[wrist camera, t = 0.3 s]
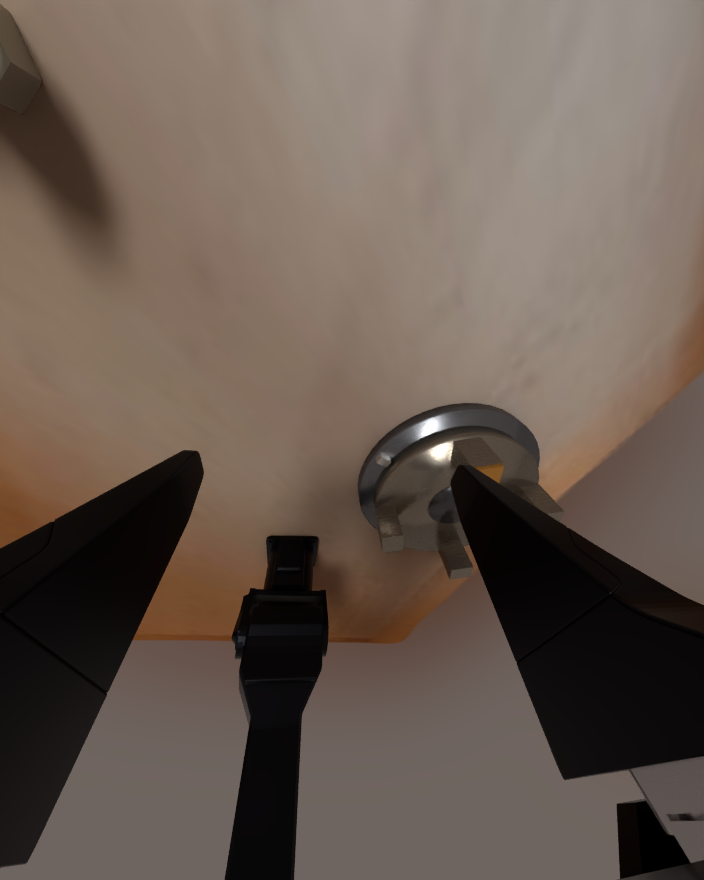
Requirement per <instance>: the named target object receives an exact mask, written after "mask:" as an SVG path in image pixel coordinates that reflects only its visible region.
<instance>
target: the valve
mask: <svg viewBox="0 0 704 880" xmlns="http://www.w3.org/2000/svg"><path fill="white" fill-rule="evenodd" d="M41 82H42V81H41V78H40V75H39V73H38V71H37V69H36V67H35V64H34V62H33V60H32V58H31V56H30V54H29V52H28V50H27V47H26V45H25V43H24V41H23V39H22V37H21V35H20V33H19V30H18V28H17V26H16V24H15V22H14V20H13V18H12V16H11V14H10V13H9V11H8V10H7V9H6V8H4V7H3V6H2V5H0V104H1V105H3V106H5V107H8V108H10V109H12V110H14V111H16V112H18V113H20V114H23V113H24V112H25V111H26V109H27V107H28V106H29V104H30V102H31V101H32V99H33V97H34V96H35V94H36V92H37V91H38V89H39V87H40V85H41Z"/></svg>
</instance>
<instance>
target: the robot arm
mask: <svg viewBox="0 0 704 880" xmlns="http://www.w3.org/2000/svg"><path fill="white" fill-rule="evenodd" d="M203 475H204V470H203V466H202V462H201V457H200V454H199V452H198V451H191V450H184V451H181V452H179V453H178V454H176V455H174V456H172V457H170V458H168V459H166V460H165V461H163V462H161V463H159V464H157V465H155V466H153V467H152V468H150V469H148V470H146V471H144V472H142V473H140V474H139V475H137V476H135V477H133V478H131V479H129V480H128V481H126V482H124V483H122V484H120V485H118V486H116V487H115V488H113V489H111V490H109V491H107V492H105V493H103V494H102V495H100V496H98V497H96V498H94V499H92V500H90V501H89V502H87V503H85V504H83V505H81V506H79V507H77V508H76V509H74V510H72V511H70V512H68V513H66V514H64V515H63V516H61V517H59V518H57V519H55V521H54V522H49V523H48V524H46V525H44V526H42V527H40V528H38V529H37V530H35V531H33V532H31V533H29V534H27V535H25V536H23V537H21V538H20V539H18V540H16V541H14V542H12V543H10V544H8V545H6V546H4V547H2V548H0V868H2V867H8V866H15V865H21V864H26V863H27V862H28V860H29V858H30V856H31V854H32V852H33V850H34V848H35V846H36V844H37V842H38V840H39V838H40V836H41V834H42V832H43V830H44V828H45V825H46V823H47V821H48V819H49V817H50V815H51V812H52V810H53V808H54V806H55V804H56V802H57V800H58V798H59V796H60V793H61V791H62V789H63V787H64V785H65V783H66V781H67V779H68V776H69V774H70V772H71V770H72V768H73V766H74V764H75V762H76V759H77V757H78V755H79V753H80V751H81V748H82V747H83V745H84V742H85V740H86V738H87V736H88V734H89V732H90V730H91V728H92V725H93V723H94V721H95V719H96V717H97V715H98V713H99V711H100V708H101V706H102V704H103V702H104V700H105V698H106V696H107V692H108V691H109V689H110V687H111V685H112V682H113V680H114V678H115V676H116V674H117V672H118V670H119V667H120V665H121V663H122V661H123V659H124V657H125V655H126V653H127V650H128V648H129V646H130V644H131V642H132V640H133V638H134V636H135V634H136V631H137V629H138V627H139V625H140V623H141V621H142V619H143V617H144V614H145V612H146V610H147V608H148V606H149V604H150V602H151V600H152V597H153V595H154V593H155V591H156V589H157V587H158V585H159V582H160V580H161V578H162V576H163V574H164V572H165V570H166V568H167V565H168V563H169V561H170V559H171V557H172V555H173V553H174V551H175V548H176V546H177V544H178V542H179V540H180V538H181V536H182V534H183V531H184V529H185V527H186V525H187V523H188V520H189V518H190V515H191V512H192V510H193V506H194V503H195V500H196V497H197V494H198V491H199V488H200V485H201V482H202V479H203ZM450 487H451V491H452V494H453V498H454V501H455V505H456V508H457V512H458V516H459V519H460V522H461V525H462V528H463V530H464V533H465V535H466V538H467V540H468V543H469V545H470V548H471V550H472V553H473V555H474V558H475V560H476V563H477V565H478V568H479V570H480V573H481V575H482V578H483V580H484V583H485V585H486V588H487V590H488V593H489V595H490V598H491V600H492V603H493V605H494V608H495V610H496V612H497V615H498V618H499V620H500V623H501V625H502V628H503V630H504V633H505V635H506V638H507V640H508V643H509V645H510V648H511V650H512V652H513V655H514V658H515V660H516V662H517V666H518V668H519V671H520V673H521V676H522V678H523V681H524V683H525V686H526V688H527V691H528V693H529V696H530V698H531V701H532V703H533V706H534V708H535V711H536V713H537V716H538V718H539V721H540V723H541V726H542V728H543V731H544V734H545V736H546V738H547V741H548V744H549V746H550V748H551V751H552V754H553V756H554V759H555V761H556V764H557V766H558V768H559V771H560V773H561V775H562V777H563V779H564V780H569V779H575V778H581V777H588V776H594V775H601V774H606V773H613V772H620V771H627V770H628V771H629V772H630V774H631V776H632V778H633V779H634V781H635V783H636V784H637V786H638V788H639V789H640V791H641V793H642V794H643V796H644V798H645V799H641V800H636V801H630V802H624V803H619V804H617V822H618V841H619V864H620V879H619V880H704V605H702V604H700V603H697V602H695V601H693V600H691V599H688V598H686V597H684V596H682V595H680V594H678V593H677V592H675V591H673V590H671V589H670V588H668V587H666V586H665V585H662V584H661V583H659V582H657V581H656V580H654V579H653V578H651V577H649V576H647V575H646V574H644V573H642V572H641V571H639V570H637V569H635V568H634V567H632V566H630V565H628V564H627V563H625V562H623V561H622V560H620V559H618V558H617V557H615V556H613V555H612V554H610V553H608V552H606V551H605V550H603V549H601V548H600V547H598V546H597V545H595V544H593V543H592V542H590V541H588V540H587V539H585V538H584V537H582V536H581V535H579V534H577V533H576V532H574V531H573V530H571V529H569V528H567V527H566V526H565V525H563V524H562V523H560V522H559V521H557V520H556V519H554V518H552V517H551V516H549V515H548V514H546V513H545V512H543V511H541V510H540V509H538V508H537V507H535V506H534V505H532V504H531V503H529V502H527V501H526V500H524V499H523V498H521V497H520V496H518V495H516V494H515V493H513V492H512V491H510V490H509V489H507V488H506V487H504V486H502V485H501V484H499V483H498V482H496V481H495V480H493V479H491V478H490V477H488V476H487V475H485V474H484V473H482V472H481V471H479V470H477V469H476V468H474V467H473V466H471V465H464V464H460V465H458V466H457V468H456V470H455V472H454V474H453V477H452V479H451V482H450ZM317 544H318V538H317V537H300V536H269V537H267V540H266V545H267V560H268V568H267V573H266V578H265V584H264V589H255V588H250V592H249V594H248V595H245V596H244V597H243V602H242V606H241V610H240V613H239V616H238V619H237V622H236V625H235V628H234V631H233V634H232V641H233V642H234V644H235V650H236V655H235V659H241V664H240V670H239V691H240V694H241V698H242V702H243V706H244V709H245V713H246V717H247V720H248V724H249V731H248V737H247V743H246V749H245V756H244V762H243V769H242V775H241V781H240V788H239V794H238V800H237V806H236V812H235V818H234V825H233V831H232V837H231V843H230V850H229V856H228V862H227V869H226V875H225V880H294V867H295V846H296V824H297V804H298V782H299V761H300V741H301V720H302V713H303V710H304V708H305V706H306V704H307V701H308V699H309V697H310V695H311V692H312V690H313V688H314V686H315V683H316V681H317V679H318V676H319V674H320V672H321V669H322V657H325V656H326V652H327V645H328V613H327V601H326V590H321V591H312V578H313V566H315V561H316V553H317Z"/></svg>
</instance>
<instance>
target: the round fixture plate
mask: <svg viewBox="0 0 704 880" xmlns="http://www.w3.org/2000/svg"><path fill="white" fill-rule="evenodd" d="M460 464H464V465H471V466H473V467H474V468H476V469H477V470H479V471H481V472H482V473H484V474H485V475H487V476H488V477H490V478H491V479H493V480H495V481H496V482H498V483H499V484H501V485H502V486H504V487H506V488H507V489H509V490H510V491H512V492H513V493H515V494H516V495H518V496H520V497H521V498H523V499H524V500H526V501H527V502H529V503H531V504H532V505H534V506H535V507H537V508H538V509H540V510H541V511H543V512H545V513H546V514H548V515H549V516H551V517H552V518H554V519H556V520H557V521H560V519H561V517H562V515H563V513H564V510H563V509H562V508H561V507H560V506H559V505H558V504H557V503H556V502H555V501H554V500H553V499H552V498H551V497H550V496H549V495H548V493H547V492H546V491H545V490H544V489H543V488H542V487H541V486H540V485H539V484H538V481H539V470H538V466H537V463H536V461H535V460H534V458H533V456H532V455H531V454H530V453H529V452H528V451H527V450H526V449H525V448H524V447H523V446H522V445H521V444H520V443H519V442H518V441H517V440H515V439H514V438H513V437H512V436H510V435H509V434H507V433H505V432H503V431H501V430H498V429H495V428H491V427H485V426H459V427H453V428H448V429H444V430H441V431H438V432H434V433H432V434H429V435H427V436H425V437H422V438H421V439H419V440H417V441H415V442H413V443H412V444H410V445H409V446H407V447H406V448H404V449H403V450H401V451H400V452H399V453H398V454H397V455H396V456H394V457H393V458H392V460H391V463H390V464H389V465H388V466H387V468H386V467H385V468H384V469H383V471H382V472H381V474H380V476H379V477H378V479H377V482H376V485H375V488H374V493H373V502H374V507H375V512H376V519H377V526H378V531H379V536H380V541H381V546H382V551H383V553H387V552H393V551H400V550H403V546H404V547H406V548H410V549H414V550H422V551H439V553H440V556H441V559H442V561H443V564H444V566H445V569H446V571H447V574H448V577H449V579H456V578H463V577H470V576H471V573H472V570H473V565H472V563H471V561H470V559H469V557H468V555H467V553H466V551H465V549H464V547H463V546H467V545H469V543H468V540H467V538H466V535H465V533H464V530H463V528H462V525H461V522H460V519H459V516H458V512H457V508H456V505H455V501H454V498H453V494H452V491H451V487H450V482H451V479H452V477H453V474H454V472H455V470H456V468H457V466H458V465H460Z"/></svg>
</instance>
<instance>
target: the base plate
mask: <svg viewBox="0 0 704 880" xmlns="http://www.w3.org/2000/svg"><path fill="white" fill-rule="evenodd" d="M459 426H485V427H491V428H495V429H498V430H501V431H503V432H505V433H507V434H509V435H510V436H512V437H513V438H514V439H515V440H517V441H518V442H519V443H520V444H521V445H522V446H523V447H524V448H525V449H526V450H527V451H528V452H529V453H530V454H531V455H532V456H533V458H534V460H535V461H536V463H537V466H538V467H539V460H540V456H539V448H538V444H537V441H536V439H535V437H534V435H533V434H532V433H531V431H530V430H529V429H528V428H527V427H526V426H525V425H524V424H523V423H521V422H520V421H519V420H518V419H517V418H515V417H514V416H513V415H511V414H510V413H508V412H506V411H504V410H502V409H500V408H497V407H493V406H490V405H484V404H475V403H462V404H452V405H447V406H442V407H438V408H434V409H431V410H428V411H425V412H423V413H421V414H418V415H416V416H414V417H412V418H410V419H408V420H406V421H405V422H403V423H401V424H399V425H398V426H397V427H395V428H394V429H393V430H391V431H390V432H389V433H387V434H386V435H385V436H384V437H383V438H382V439H381V440H380V441H379V442H378V443H377V444H376V445H375V447H374V448H373V449H372V450H371V452H370V453H369V455H368V456H367V458H366V460H365V462H364V464H363V466H362V469H361V472H360V475H359V481H358V493H359V500H360V505H361V509H362V511H363V513H364V516H365V517H366V519H367V520H368V521H369V523H370V524H371V525H372V526H373V527H374V528H376V529H377V530H378V526H377V519H376V512H375V507H374V502H373V493H374V488H375V485H376V482H377V479H378V477H379V476H380V474H381V472H382V471H383V469H384V468H385V467H386V468H387V466H388V465H389V464H390V463H391V460H392V458H393V457H394V456H396V455H397V454H398V453H399V452H400V451H401V450H403V449H404V448H406V447H407V446H409V445H410V444H412V443H413V442H415V441H417V440H419V439H421V438H422V437H425V436H427V435H429V434H432V433H434V432H438V431H441V430H444V429H448V428H453V427H459Z"/></svg>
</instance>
